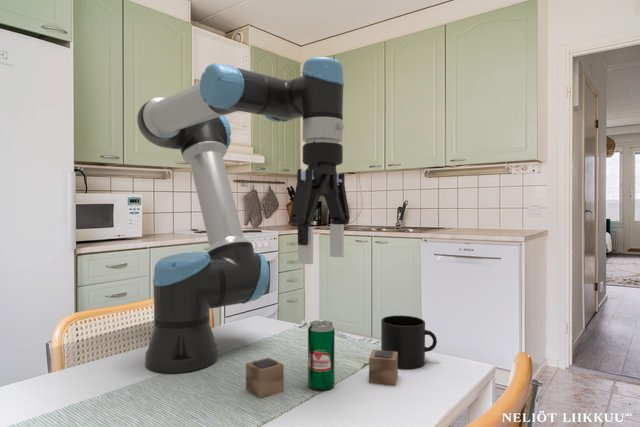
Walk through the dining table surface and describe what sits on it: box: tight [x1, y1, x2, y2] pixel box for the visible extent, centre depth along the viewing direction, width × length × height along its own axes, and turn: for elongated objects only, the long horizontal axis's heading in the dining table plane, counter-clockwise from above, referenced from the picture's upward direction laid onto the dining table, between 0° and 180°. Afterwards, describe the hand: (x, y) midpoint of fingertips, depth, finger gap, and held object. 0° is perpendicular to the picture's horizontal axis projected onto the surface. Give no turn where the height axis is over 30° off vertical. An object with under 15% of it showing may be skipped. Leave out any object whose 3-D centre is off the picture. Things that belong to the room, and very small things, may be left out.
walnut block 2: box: [368, 349, 399, 387], centre depth 86 cm, size 5×5×5 cm
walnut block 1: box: [245, 357, 285, 399], centre depth 81 cm, size 5×5×5 cm
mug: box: [380, 314, 438, 370], centre depth 96 cm, size 9×12×9 cm
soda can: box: [307, 319, 336, 391], centre depth 83 cm, size 5×5×12 cm
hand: (322, 260), depth 83 cm, fingers open, 11 cm apart
